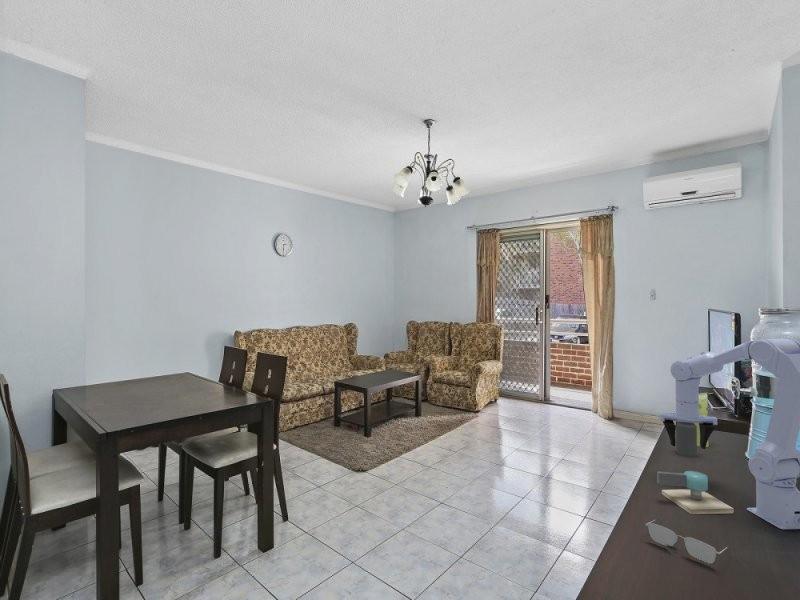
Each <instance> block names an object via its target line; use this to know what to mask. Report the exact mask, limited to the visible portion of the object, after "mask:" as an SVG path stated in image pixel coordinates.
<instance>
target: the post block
mask: <svg viewBox="0 0 800 600" xmlns="http://www.w3.org/2000/svg"><path fill="white" fill-rule="evenodd" d="M661 495H662V496H663V497H664V498H667V499H668V500H669V501H671V502H672V503H673V504H675V505H677V506H678V507H680V509H682V510H684V511H686V512H687V513H688V514H690V515H714V514H715V515H717V514H719V515H720V514H722V515H723V514H734V512H735V510H734V507H732V506H730V505H728V504H727V503H725V502H723V501H722V500H720V499H718V498H716V497H715V496H714V495H711V494H710V493H708V492H707V491H696V490H692V489H689V488H687V489H685V488H684V489H683V488H682V489H661Z"/></svg>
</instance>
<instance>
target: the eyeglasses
mask: <svg viewBox="0 0 800 600" xmlns="http://www.w3.org/2000/svg"><path fill="white" fill-rule="evenodd" d="M657 520H659V522H660V524H661V525H660V524H656V523H653V522H654V521H657ZM645 526H647V528H648V533H649V534H648V535H649V536H650V538H651V540H653V541H654V542H656V543H657V544H660V545H662V546H666V547H673V546H674V545H675V543H677V542H678V537H680V538H682V539H683V540H684V541H683V542H684V545H685V548H686V550H687V552H688V554H689V555H690V556H691V557H693V558H694V559H696V558H697V560H698V559H699V560H698V561H700V560H702V561H701V562H703V561H704V563H706V562H707V563H706V564H709V565H710V564H713V563H714V562H715V560H716V558H717V554H718V555H721V554H722V553H723V552H724V551H726V550H728V551H731V547H730V545H727V547H725V548H724V549H722V550H721V551H717V550H716V547H714V546H712V545H710V544H708V543H706V542H704V541H701V540H699V539H696V538H694V537H690V536H689V537H688V536H686V537H683V536H681V535H679V534H676V532H675V531H673V530H672V529H670V528H668V527H665V526H663V523H662V521H661V519H660V518H656V519H654V520H651V521H649V522H647V523H645Z"/></svg>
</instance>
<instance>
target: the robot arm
mask: <svg viewBox="0 0 800 600" xmlns="http://www.w3.org/2000/svg"><path fill="white" fill-rule="evenodd" d="M743 360H752V361H753V362H755V363H757V364H758V365H759V366H761V367H762V368H763V369H765V370H766V371H768V372H769V373H771V374H772V375H773V376H774V377H775V378H776V379H777V380H778V382H777V387H776V391H775V394H774V395H775V396H774V400H773V404H772V408H771V409H772V410H771V412H770V418H769V422H768V426H767V430H766V435H765V438H764V440H763V441H762V442H761V443H760V444H759V445H758V446H757V447H756V448H755V450H754V452H755V453H754V454H753V455H752V456H751V457H750V458H749V459H748V463H747V464H748V469H749V471H750V473H751V474H752V475H753V477H754V480H755V491H756V492H755V494H756V495H755V496H756V498H755V500H756V501H755V502H756V503H755V504H756V505H755V507H746V511H748V512H750V513H752V514H754V515H755V516H757V517H759V518H760V519H762V520H763V521H766V522H767V523H770V524H771V525H773V526H775V527H777V528H778V529H780V530H800V490H799V489H798V488H797V486H796V484H797V478H800V451H799V450H798V449H797V448H796V445H797V441H798V438H799V432H800V342H799V341H798V340H796V339H795V338H791V337H781V338H757V339H755V340H750V341H746V342H743V343H741V344H739V345H736V346H734V347H731V348H729V349H726V350H723V351H721V352H718V353H716V352H714V351H709V350H705V351H701V352H700V354H699V355H697V356H693V357H692V356H689V357H687V358H686V360H684V361H683V360H676V361H675V362H672V364H671V366H670V373H671V376H672V377H673V379H675V413H674V412H673V413H670V412H669V413H667V412H665V413H664V412H663V413H661V412H659V413H658V420H659V421H660V422H661V423H662V424H663V426H664V428H665V429H666V430H665V431H666V432H667V434H668V438H669V442H670V443H669V444H670V445H671V446H672V447H676V424H675V423H677V422H690V423H699V428H700V448H701V449H702V450H706V449H707V447H706V444H707V441H708V439H709V438H710V437H711V434H712V433H713V432H714V431H715V426H717V425H718V418H717V417H715V416H709V415H708V416H702V415H699V394H700V393H699V387H700V385H701V380H702V378H703V377H706V376H709V375H712V374H714V373H719V372H721V371H723V369H724V366H725V365H729V364H731V363H737V362H740V361H743Z"/></svg>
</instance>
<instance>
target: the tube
mask: <svg viewBox="0 0 800 600" xmlns="http://www.w3.org/2000/svg"><path fill="white" fill-rule="evenodd" d="M708 404H709V403H708V392H702V393H699V415H702V416H709V409H708V407H709V405H708ZM694 424H695V425H696V426H697V447H700V428H699V423H694ZM709 446H710V445H709V439H708V441H707V444H706V448H708V447H709ZM700 448H701V447H700Z"/></svg>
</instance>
